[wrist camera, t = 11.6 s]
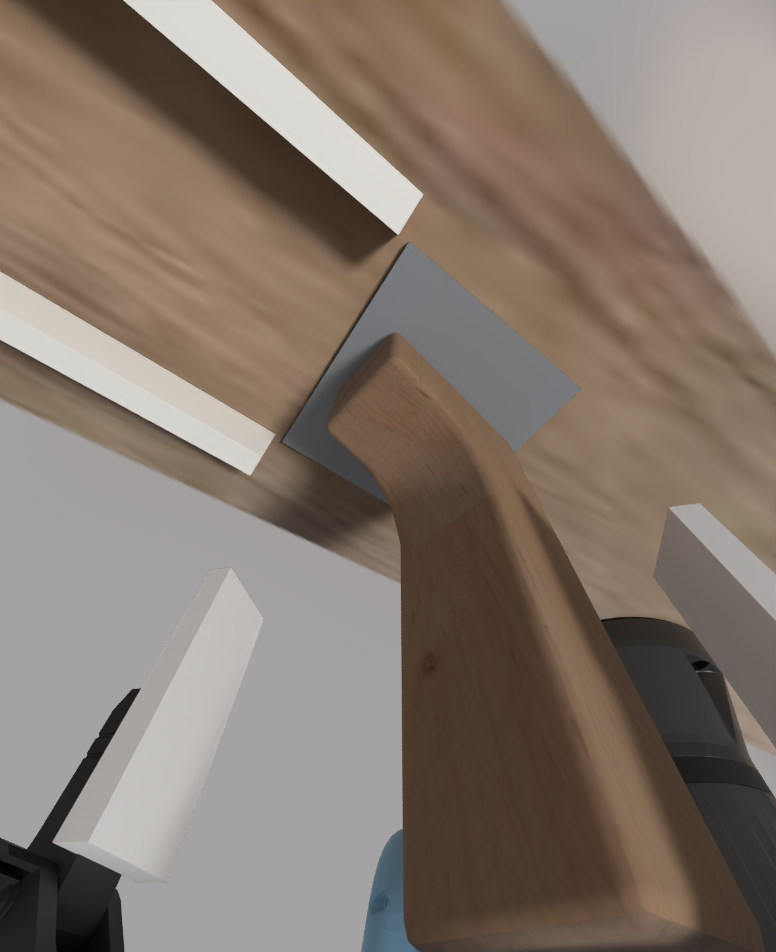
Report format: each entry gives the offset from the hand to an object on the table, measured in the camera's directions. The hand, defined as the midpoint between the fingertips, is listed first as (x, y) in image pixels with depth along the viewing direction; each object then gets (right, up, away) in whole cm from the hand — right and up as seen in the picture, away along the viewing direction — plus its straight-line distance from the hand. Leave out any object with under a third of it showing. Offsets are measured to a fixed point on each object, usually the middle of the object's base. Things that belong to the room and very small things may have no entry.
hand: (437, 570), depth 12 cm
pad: (0, +6, +9) cm, 11 cm away
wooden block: (0, +6, +9) cm, 11 cm away
